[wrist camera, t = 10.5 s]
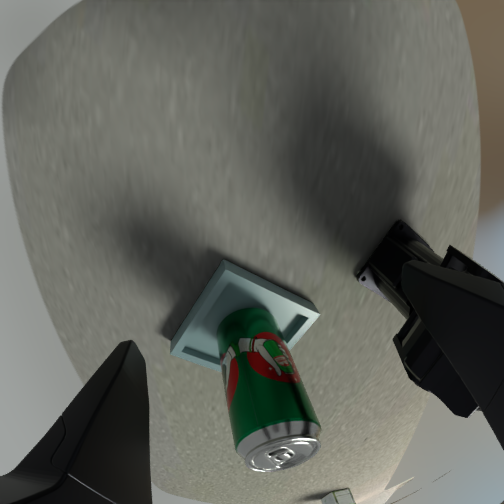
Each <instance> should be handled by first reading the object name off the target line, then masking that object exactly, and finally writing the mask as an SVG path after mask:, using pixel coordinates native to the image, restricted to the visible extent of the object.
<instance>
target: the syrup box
mask: <svg viewBox="0 0 504 504" xmlns="http://www.w3.org/2000/svg"><path fill="white" fill-rule="evenodd" d="M321 501H322V504H356V503H355V501H354V498H353V496H352V494H351V491H350V489H349V488H348V489H343V490H338V491H334V492H331V493H329V494H328V495H326V496H325V497H323V498H322V499H321Z"/></svg>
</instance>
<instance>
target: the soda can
mask: <svg viewBox="0 0 504 504" xmlns="http://www.w3.org/2000/svg"><path fill="white" fill-rule="evenodd" d="M216 337H217V344H218V351H219V357H220V364H221V370H222V377H223V383H224V389H225V395H226V401H227V407H228V412H229V418H230V423H231V429H232V434H233V440H234V445H235V450H236V452H237V453H238V455H240V456H241V457H242V458H243V459H244V460H245V465H246V466H247V467H248V468H249V469H251V470H254V471H259V472H273V471H280V470H284V469H288V468H291V467H294V466H297V465H299V464H302V463H304V462H306V461H307V460H309V459H310V458H312V457H313V456H314V455H315V454H317V452H318V451H319V450H320V447H321V443H320V441H319V437H320V434H321V425H320V423H319V421H318V418H317V416H316V414H315V411H314V409H313V406H312V404H311V402H310V399H309V397H308V394H307V392H306V390H305V387H304V385H303V382H302V380H301V378H300V375H299V373H298V370H297V368H296V366H295V363H294V361H293V358H292V356H291V354H290V351H289V349H288V346H287V344H286V342H285V339H284V337H283V334H282V332H281V330H280V327H279V325H278V322H277V320H276V319H275V317H274V316H273V315H272V314H271V313H269V312H268V311H266V310H263V309H259V308H243V309H239V310H236V311H234V312H232V313H231V314H229V315H228V316H226V317H225V318H224V319H223V320H222V321H221V323H220V324H219V326H218V329H217V333H216Z"/></svg>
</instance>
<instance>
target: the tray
mask: <svg viewBox="0 0 504 504" xmlns="http://www.w3.org/2000/svg"><path fill="white" fill-rule="evenodd" d="M243 308H259V309H263V310H266V311H268V312H269V313H271V314H272V315H273V316H274V317H275V319H276V320H277V322H278V325H279V327H280V330H281V332H282V334H283V337H284V339H285V342H286V344H287V346H288V349H289V350H290V349H291V348H292V347H293V346H294V345H295V344H296V342H297V341H298V340H299V339H300V338H301V337H302V336H303V334H304V333H305V332H306V331H307V330H308V328H309V327H310V326H311V325H312V324H313V323H314V321H315V320H316V319H317V318H318V317H319V315H320V313H319V312H318V310H317V308H316V307H315V305H314V304H313V303H311V302H309V301H307V300H305V299H303V298H301V297H299V296H297V295H295V294H293V293H291V292H289V291H287V290H285V289H283V288H281V287H278V286H276V285H274V284H272V283H270V282H268V281H266V280H264V279H262V278H260V277H258V276H256V275H254V274H252V273H250V272H248V271H246V270H244V269H242V268H240V267H238V266H236V265H234V264H232V263H230V262H228V261H226V260H224V259H223V261H222V262H221V264H220V265H219V267H218V268H217V270H216V271H215V273H214V275H213V276H212V278H211V279H210V281H209V282H208V284H207V285H206V287H205V288H204V290H203V292H202V293H201V295H200V296H199V298H198V299H197V301H196V302H195V304H194V306H193V307H192V309H191V310H190V312H189V313H188V315H187V317H186V318H185V320H184V321H183V323H182V324H181V326H180V328H179V329H178V331H177V332H176V334H175V336H174V337H173V339H172V340H171V347H170V354H171V355H174V356H176V357H179V358H182V359H185V360H187V361H190V362H193V363H196V364H199V365H202V366H205V367H208V368H211V369H214V370H217V371H220V372H222V370H221V364H220V357H219V351H218V344H217V337H216V333H217V329H218V326H219V324H220V323H221V321H222V320H223V319H224V318H225V317H226V316H228V315H229V314H231V313H232V312H234V311H236V310H239V309H243Z"/></svg>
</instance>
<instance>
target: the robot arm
mask: <svg viewBox="0 0 504 504" xmlns="http://www.w3.org/2000/svg"><path fill="white" fill-rule="evenodd" d="M400 225H401V226H400ZM399 226H400V228H399ZM363 276H364V278H363V279H361V278H362V277H363ZM357 280H358V281H359V283H360V284H362V285H364V286H365V287H367V288H369V289H370V290H372V291H373V292H375V293H377V294H378V295H380V296H381V297H383V298H385V299H386V300H388V301H389V302H391V303H392V304H393V305H394V306H395V307H396V308H397V309H398V311H399V312H400V313H401V314H402V315H403V316H404V317H405V318H406V319H407V321H406V322H405V324H404V325H403V327H402V328H401V330H400V331H399V332H398V334H396V335H395V336H394V338H393V342H394V344H395V346H396V349H397V351H398V353H399V356H400V358H401V361H402V363H403V365H404V368H405V370H406V372H407V374H408V377H409V379H410V380H412V381H413V382H414V383H415V384H416V385H417V386H419V387H421V388H422V389H424V390H426V391H428V392H431V393H433V394H434V395H436V396H437V397H438V398H439V399H440V400H441V401H442V402H443V403H444V404H445V405H446V406H447V407H448V408H449V409H450V410H451V411H452V412H453V413H454V414H455V415H458V416H461V417H465V418H469V417H470V416H471V415H472V414H473V413H474V412H475V411H476V410H479V411H482V412H483V414H484V416H485V418H486V419H487V421H488V423H489V425H490V426H491V428H492V430H493V431H494V433H495V435H496V437H497V439H498V441H499V442H500V444H501V446H502V448H503V450H504V282H503V281H502V280H500V279H499V278H498V277H497V276H495V275H494V274H493V273H491V272H490V271H488V270H487V269H486V268H484V267H483V266H481V265H480V264H479V263H477V262H476V261H474V260H473V259H471V258H470V257H468V256H467V255H465V254H463V253H462V252H460V251H459V250H457V249H456V248H454V247H453V246H451V245H449V247H448V249H447V253H446V255H445V257H444V259H443V258H441V257H440V256H438V255H437V254H436V253H434V251H433V250H432V249H431V248H430V247H429V246H428V245H427V244H426V243H425V242H424V241H423V240H422V239H421V238H420V237H419V236H418V235H417V234H416V233H415V232H414V231H413V230H412V229H411V228H410V227H409V226H408V225H407V224H406V223H404V222H403V221H401V220H398V221H396V223H395V224H394V225H393V227H392V228H391V230H390V231H389V233H388V234H387V235H386V237H385V238H384V240H383V241H382V243H381V244H380V245H379V247H378V248H377V249H376V251H375V252H374V254H373V255H372V256H371V258H370V259H369V260H368V262H367V263H366V264H365V266H364V267H363V268H362V270H361V271H360V272H359V274H358V275H357ZM0 504H152V491H151V474H150V445H149V396H148V386H147V375H146V363H145V360H144V357H143V356H142V354H141V352H140V351H139V349H138V347H137V345H136V344H135V342H134V341H132V340H128V341H123V342H120V343H119V345H118V346H117V347H116V348H115V349H114V350H113V352H112V353H111V354H110V355H109V356H108V358H107V359H106V360H105V361H104V362H103V364H102V365H101V366H100V367H99V368H98V370H97V371H96V372H95V373H94V375H93V376H92V377H91V378H90V379H89V381H88V382H87V383H86V384H85V386H84V387H83V388H82V389H81V391H80V392H79V393H78V394H77V396H76V397H75V398H74V399H73V401H72V402H71V403H70V404H69V406H68V407H67V408H66V409H65V411H64V412H63V413H62V416H60V417H59V418H58V419H57V421H56V422H55V423H54V425H53V426H52V427H51V428H50V429H49V431H48V432H47V433H46V434H45V436H44V437H43V438H42V439H41V440H40V441H39V442H38V443H37V445H36V446H35V447H34V448H33V449H32V450H31V451H30V452H29V454H27V456H26V457H25V458H24V459H23V460H22V461H21V462H20V463H19V464H18V466H17V467H16V468H15V469H14V470H12V471H11V472H9V473H8V474H6V475H3V476H0ZM501 504H504V501H503V502H502V503H501Z"/></svg>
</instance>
